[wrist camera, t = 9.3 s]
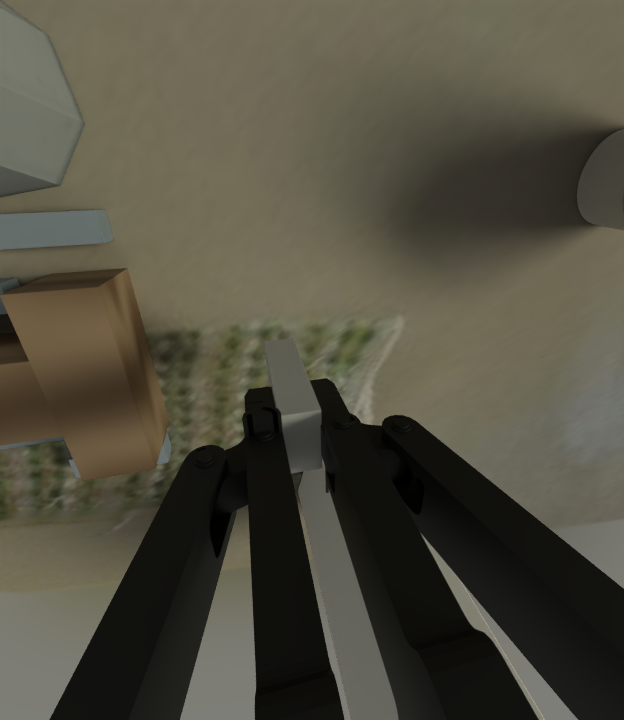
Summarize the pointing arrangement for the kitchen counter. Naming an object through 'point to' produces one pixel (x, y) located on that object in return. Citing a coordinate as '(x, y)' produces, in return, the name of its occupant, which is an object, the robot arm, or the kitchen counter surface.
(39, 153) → the coffee maker
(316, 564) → the milk
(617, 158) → the coffee cup
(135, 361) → the t block
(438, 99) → the kitchen counter surface
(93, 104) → the kitchen counter surface
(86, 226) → the t bay
